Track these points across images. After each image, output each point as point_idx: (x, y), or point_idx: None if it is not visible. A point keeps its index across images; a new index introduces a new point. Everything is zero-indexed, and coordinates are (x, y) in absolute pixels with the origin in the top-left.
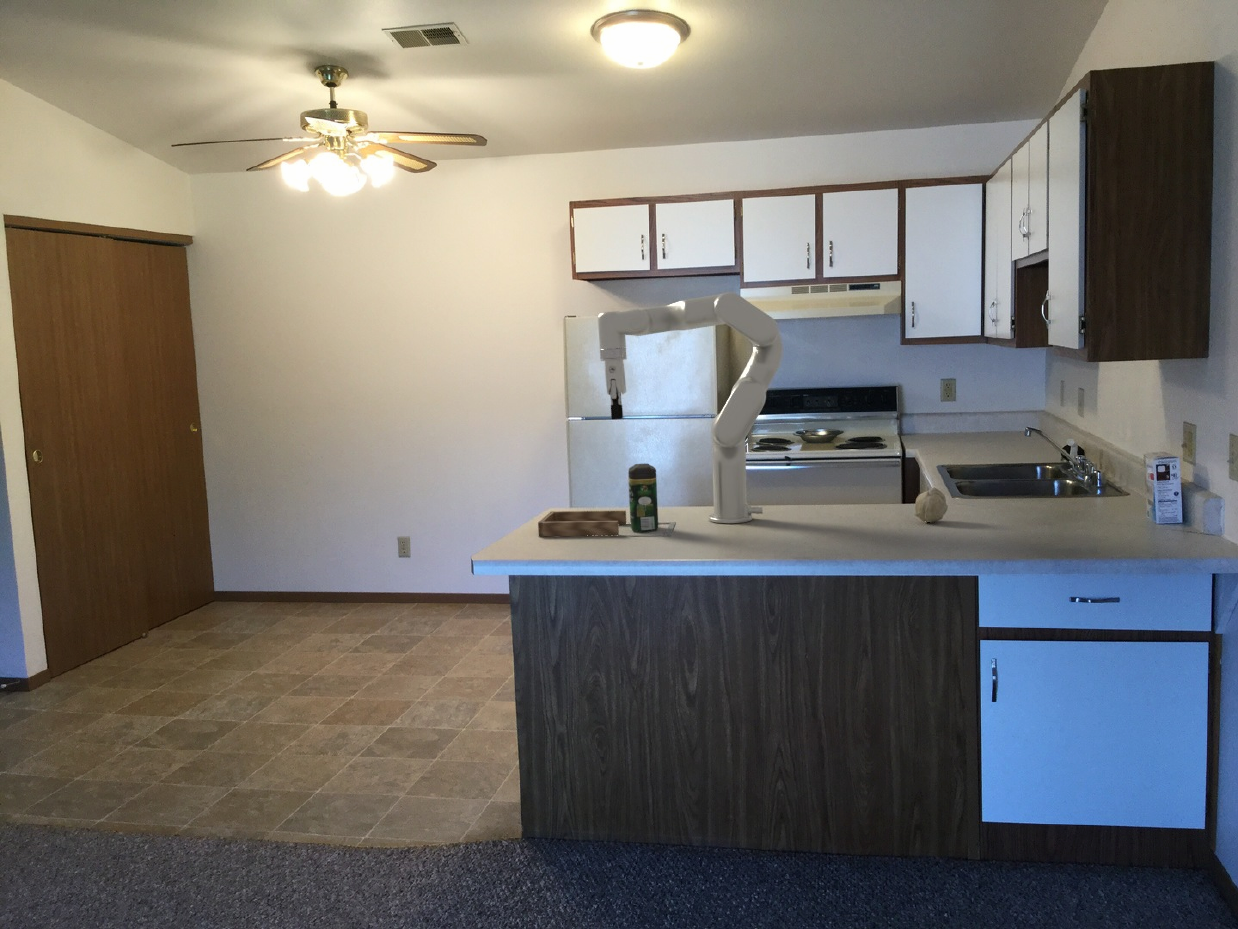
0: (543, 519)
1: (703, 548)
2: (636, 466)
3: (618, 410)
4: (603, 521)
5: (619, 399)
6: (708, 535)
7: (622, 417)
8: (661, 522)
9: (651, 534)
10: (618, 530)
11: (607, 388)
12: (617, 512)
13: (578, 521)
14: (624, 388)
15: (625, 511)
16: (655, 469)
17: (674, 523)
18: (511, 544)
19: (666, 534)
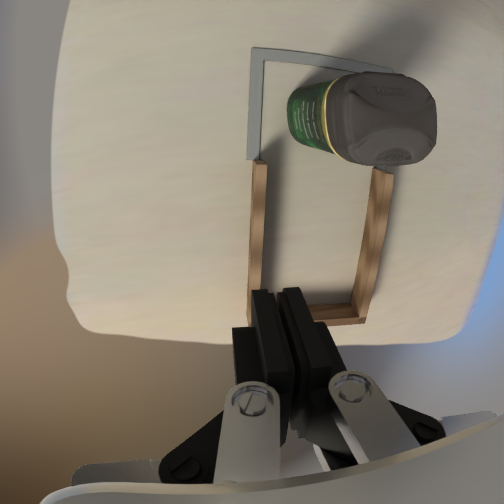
0: (337, 322)
1: (472, 41)
2: (408, 140)
3: (334, 350)
4: (387, 204)
5: (394, 418)
6: (388, 4)
7: (294, 288)
8: (252, 78)
9: None
10: (379, 170)
11: None
12: (265, 184)
13: (375, 255)
14: (489, 495)
15: (264, 164)
16: (398, 75)
17: (268, 50)
18: (396, 330)
19: None
